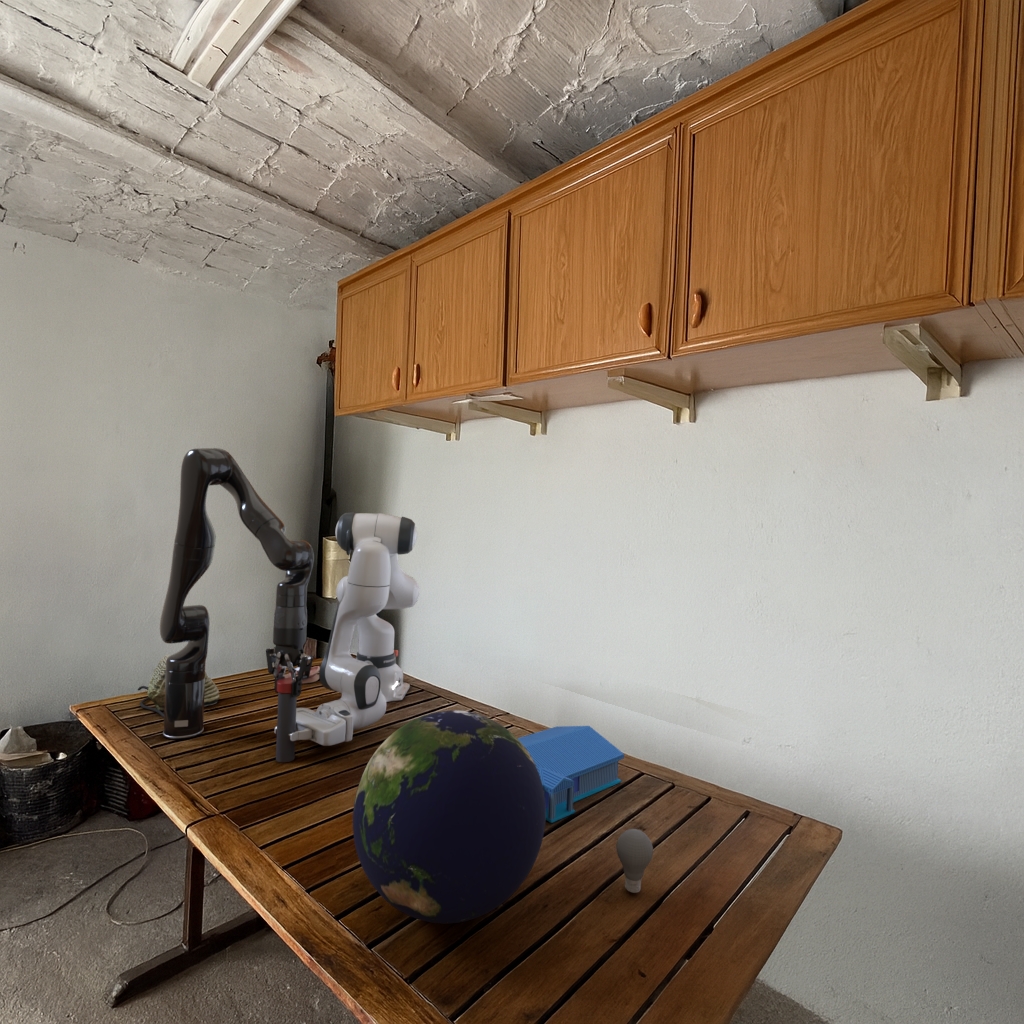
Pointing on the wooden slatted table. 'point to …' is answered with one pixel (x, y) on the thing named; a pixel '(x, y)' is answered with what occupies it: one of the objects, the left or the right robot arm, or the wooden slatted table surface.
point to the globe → (449, 817)
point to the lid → (284, 685)
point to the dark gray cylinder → (285, 727)
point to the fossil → (158, 687)
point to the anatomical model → (312, 676)
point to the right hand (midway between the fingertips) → (282, 734)
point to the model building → (571, 765)
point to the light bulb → (634, 857)
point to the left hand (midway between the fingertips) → (287, 694)
